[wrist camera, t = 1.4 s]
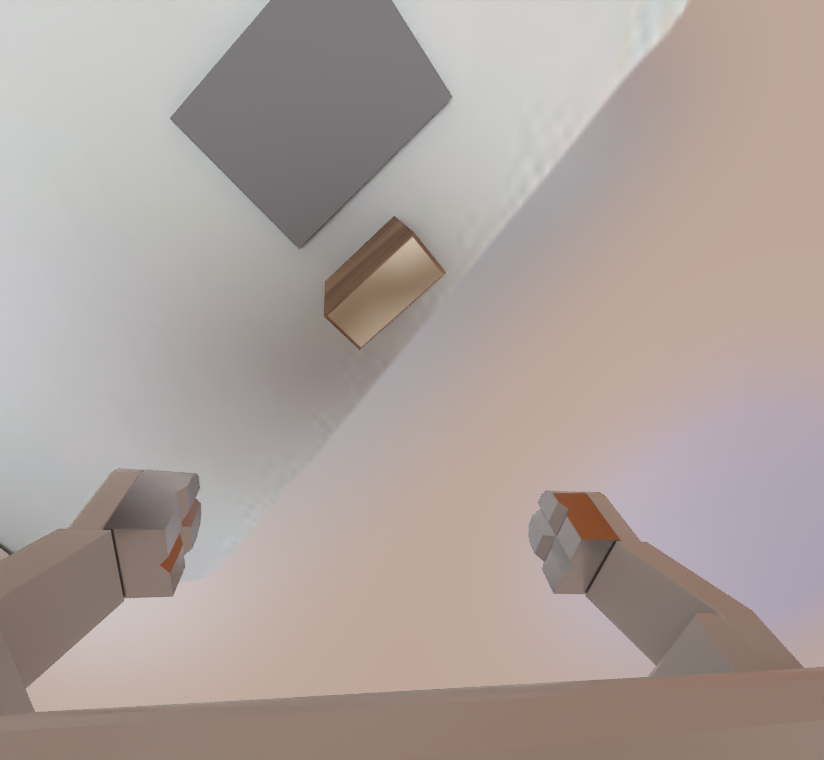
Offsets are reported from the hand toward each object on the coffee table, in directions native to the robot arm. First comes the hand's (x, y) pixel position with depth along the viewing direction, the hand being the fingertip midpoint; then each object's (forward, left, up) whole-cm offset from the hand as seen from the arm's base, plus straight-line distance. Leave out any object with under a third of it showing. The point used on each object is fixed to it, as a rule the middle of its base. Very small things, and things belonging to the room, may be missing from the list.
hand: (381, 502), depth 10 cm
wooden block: (+2, -1, -24) cm, 24 cm away
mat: (+6, +9, -24) cm, 26 cm away
